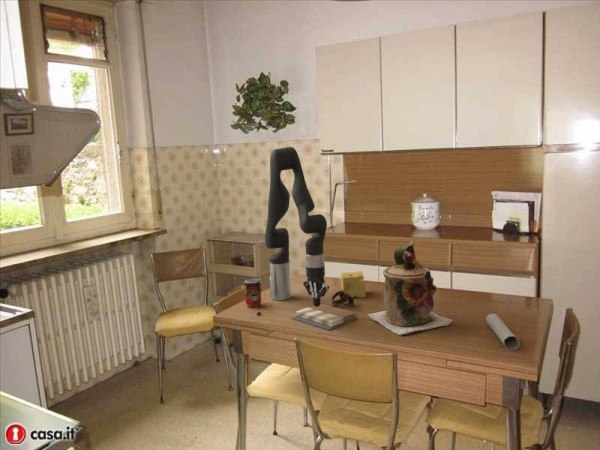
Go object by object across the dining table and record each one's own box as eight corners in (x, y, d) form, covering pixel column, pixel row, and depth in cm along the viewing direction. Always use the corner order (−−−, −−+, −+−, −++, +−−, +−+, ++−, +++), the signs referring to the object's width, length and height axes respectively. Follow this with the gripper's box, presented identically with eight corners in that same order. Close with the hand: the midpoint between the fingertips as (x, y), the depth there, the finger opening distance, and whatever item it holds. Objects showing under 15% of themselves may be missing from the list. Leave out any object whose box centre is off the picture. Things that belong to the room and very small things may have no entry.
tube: (482, 313, 192) (501, 338, 167) (496, 309, 191) (517, 333, 166) (486, 326, 192) (506, 352, 168) (500, 322, 191) (522, 347, 167)
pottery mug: (357, 310, 215) (348, 296, 212) (338, 319, 217) (328, 305, 214) (355, 295, 226) (346, 282, 223) (337, 304, 228) (328, 290, 225)
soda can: (249, 309, 222) (247, 282, 220) (243, 305, 228) (242, 279, 227) (263, 306, 225) (262, 280, 223) (258, 302, 231) (256, 276, 230)
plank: (296, 315, 208) (296, 311, 208) (308, 311, 213) (307, 307, 213) (331, 326, 194) (331, 321, 193) (343, 322, 198) (343, 317, 198)
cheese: (365, 297, 231) (365, 276, 229) (342, 298, 231) (341, 277, 229) (363, 291, 241) (362, 270, 239) (340, 292, 241) (340, 271, 240)
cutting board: (291, 318, 207) (291, 312, 207) (320, 308, 219) (319, 302, 218) (328, 330, 192) (328, 324, 192) (357, 318, 204) (357, 312, 203)
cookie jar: (365, 317, 205) (363, 241, 199) (415, 307, 214) (414, 234, 209) (400, 337, 182) (399, 252, 177) (454, 325, 192) (454, 243, 186)
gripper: (296, 264, 201) (298, 305, 204) (320, 269, 192) (322, 312, 195) (310, 260, 206) (311, 300, 209) (333, 265, 197) (335, 307, 200)
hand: (316, 306), depth 202 cm, fingers closed
